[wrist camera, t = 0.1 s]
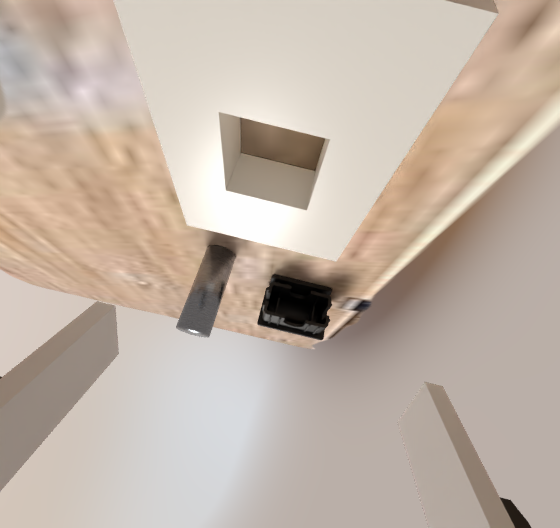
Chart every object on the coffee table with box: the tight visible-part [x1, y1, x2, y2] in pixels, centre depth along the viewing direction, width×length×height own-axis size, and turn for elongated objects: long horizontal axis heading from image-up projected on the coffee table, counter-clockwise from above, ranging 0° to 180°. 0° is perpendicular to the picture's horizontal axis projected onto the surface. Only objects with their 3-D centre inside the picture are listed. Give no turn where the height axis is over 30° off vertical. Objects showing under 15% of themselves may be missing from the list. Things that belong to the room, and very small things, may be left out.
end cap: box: [258, 274, 332, 340], centre depth 41 cm, size 10×7×7 cm
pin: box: [176, 245, 235, 337], centre depth 35 cm, size 4×4×11 cm
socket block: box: [113, 0, 498, 261], centre depth 18 cm, size 18×14×4 cm
